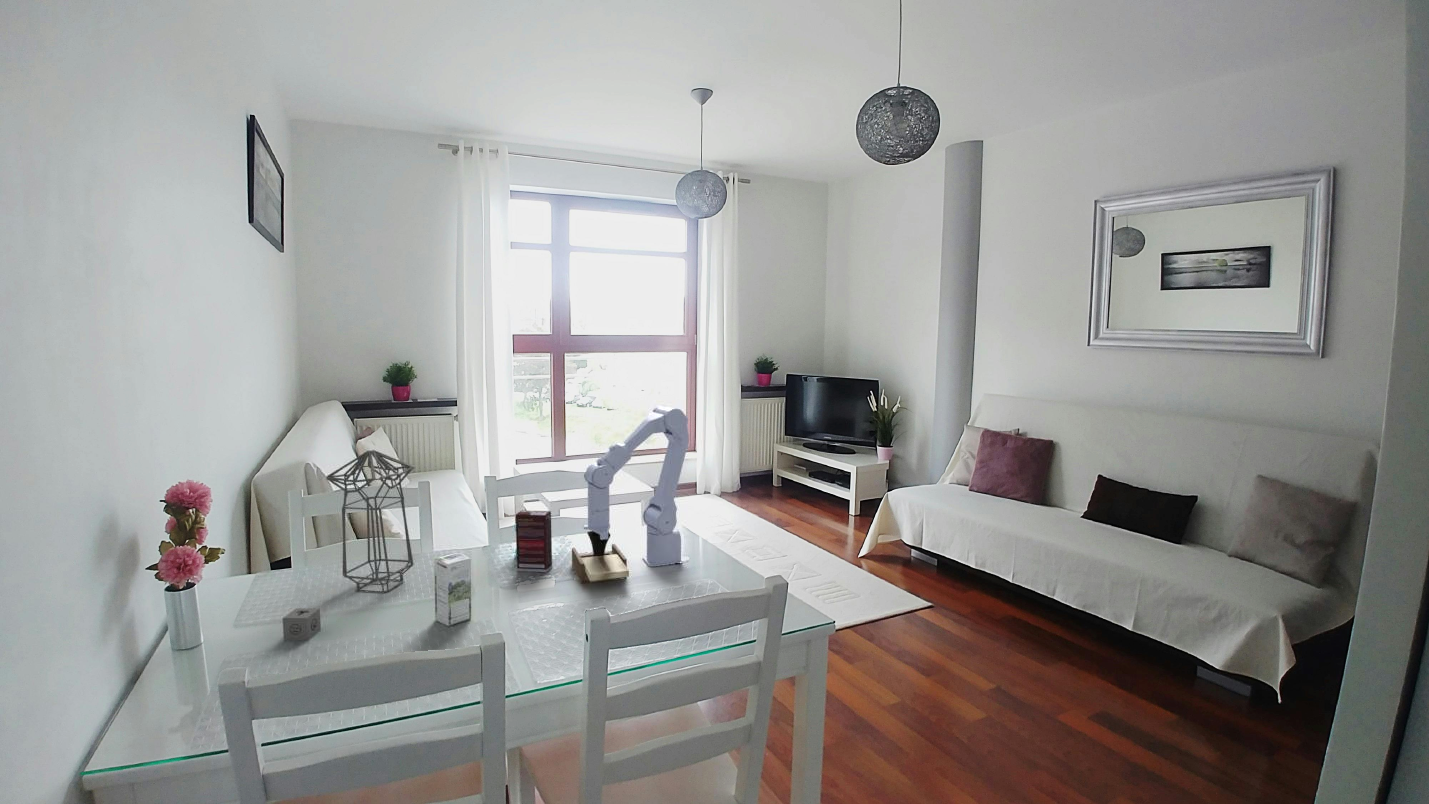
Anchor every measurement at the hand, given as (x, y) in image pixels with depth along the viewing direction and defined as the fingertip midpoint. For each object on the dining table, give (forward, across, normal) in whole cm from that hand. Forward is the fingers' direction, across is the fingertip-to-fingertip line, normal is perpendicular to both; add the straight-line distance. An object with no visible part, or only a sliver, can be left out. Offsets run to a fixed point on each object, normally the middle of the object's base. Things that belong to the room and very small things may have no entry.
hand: (598, 558), depth 188 cm
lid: (+1, +7, 0) cm, 7 cm away
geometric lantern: (+4, -8, -55) cm, 56 cm away
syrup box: (+4, +20, -37) cm, 42 cm away
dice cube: (+4, +18, -67) cm, 69 cm away
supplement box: (+4, -8, -16) cm, 19 cm away
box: (+4, 0, 0) cm, 4 cm away
